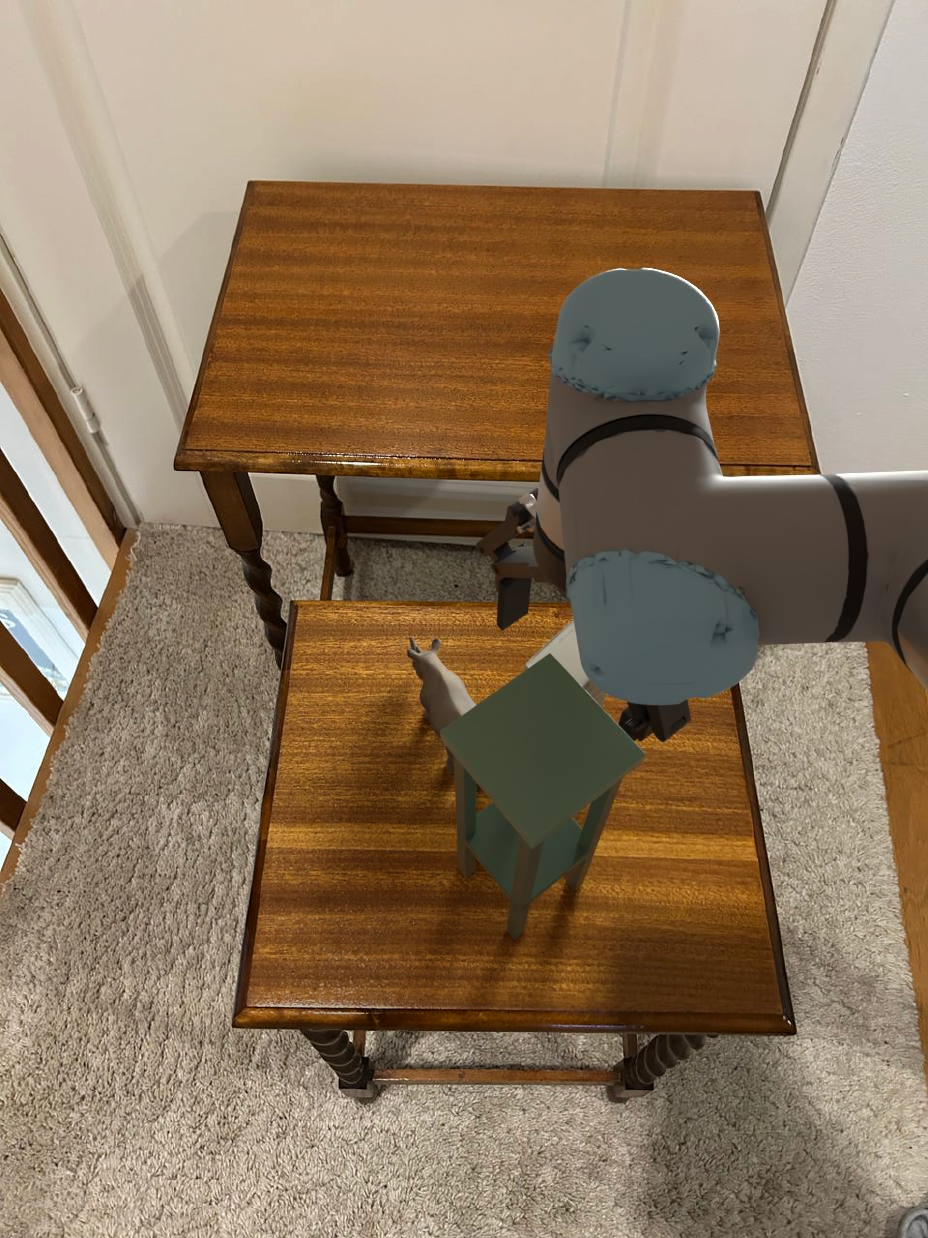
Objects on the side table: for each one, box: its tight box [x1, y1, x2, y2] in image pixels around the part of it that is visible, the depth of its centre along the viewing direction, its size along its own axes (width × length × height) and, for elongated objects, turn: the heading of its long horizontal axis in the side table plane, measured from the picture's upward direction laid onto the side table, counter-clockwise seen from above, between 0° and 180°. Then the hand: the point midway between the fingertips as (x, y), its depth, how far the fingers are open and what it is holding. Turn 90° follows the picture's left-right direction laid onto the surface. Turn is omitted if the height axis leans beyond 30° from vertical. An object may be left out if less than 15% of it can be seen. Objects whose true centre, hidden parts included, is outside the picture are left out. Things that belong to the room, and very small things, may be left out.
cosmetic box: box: [524, 619, 607, 709], centre depth 75 cm, size 6×4×12 cm
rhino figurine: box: [406, 635, 477, 774], centre depth 78 cm, size 4×14×6 cm, turn 25°
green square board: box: [440, 653, 646, 849], centre depth 52 cm, size 8×8×1 cm
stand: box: [453, 756, 624, 941], centre depth 62 cm, size 7×7×25 cm
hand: (567, 678), depth 73 cm, fingers open, 13 cm apart
